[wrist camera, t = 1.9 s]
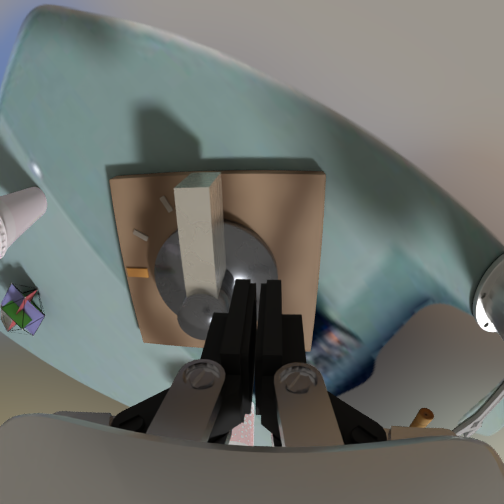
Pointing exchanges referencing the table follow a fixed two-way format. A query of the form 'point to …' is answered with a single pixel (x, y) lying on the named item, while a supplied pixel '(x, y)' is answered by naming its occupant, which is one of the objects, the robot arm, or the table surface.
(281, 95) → the table surface
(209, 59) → the table surface
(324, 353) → the table surface
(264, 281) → the dial
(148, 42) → the table surface
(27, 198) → the smoothie
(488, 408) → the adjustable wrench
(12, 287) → the geometric puzzle
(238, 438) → the beverage cup
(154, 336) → the dial plate
